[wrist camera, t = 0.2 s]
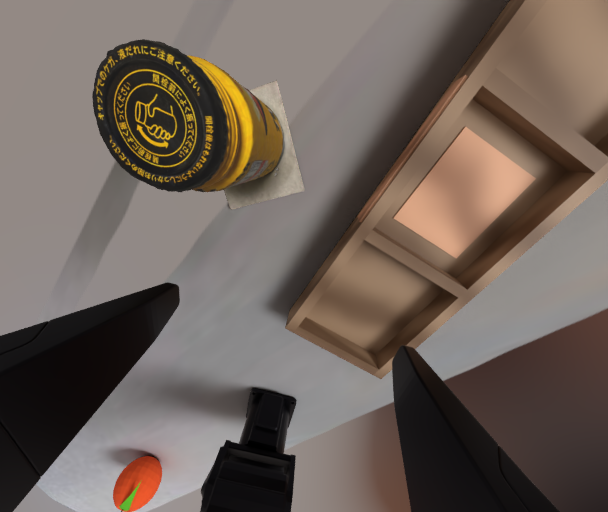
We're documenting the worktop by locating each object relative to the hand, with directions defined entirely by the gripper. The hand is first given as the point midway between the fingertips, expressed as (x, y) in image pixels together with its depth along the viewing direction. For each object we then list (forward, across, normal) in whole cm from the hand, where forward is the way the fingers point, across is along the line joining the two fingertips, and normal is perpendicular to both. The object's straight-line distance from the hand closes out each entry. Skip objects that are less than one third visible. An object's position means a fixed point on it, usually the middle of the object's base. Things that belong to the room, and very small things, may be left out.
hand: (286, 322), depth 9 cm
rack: (+15, -11, -4) cm, 19 cm away
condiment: (+14, +7, -4) cm, 17 cm away
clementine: (+11, +19, +52) cm, 56 cm away
